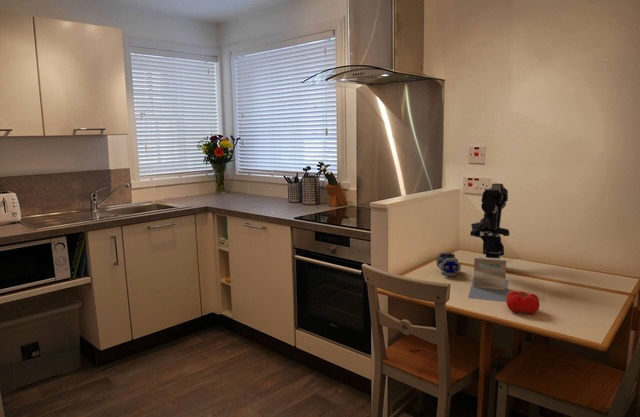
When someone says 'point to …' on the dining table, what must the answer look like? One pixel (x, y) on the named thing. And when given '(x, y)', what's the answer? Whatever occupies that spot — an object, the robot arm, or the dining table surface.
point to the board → (489, 273)
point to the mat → (488, 293)
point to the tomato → (522, 302)
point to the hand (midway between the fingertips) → (487, 252)
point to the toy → (448, 264)
